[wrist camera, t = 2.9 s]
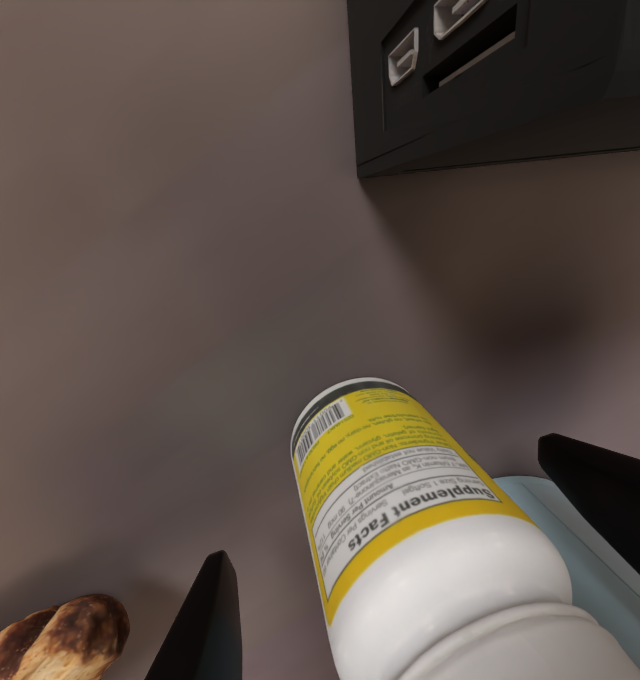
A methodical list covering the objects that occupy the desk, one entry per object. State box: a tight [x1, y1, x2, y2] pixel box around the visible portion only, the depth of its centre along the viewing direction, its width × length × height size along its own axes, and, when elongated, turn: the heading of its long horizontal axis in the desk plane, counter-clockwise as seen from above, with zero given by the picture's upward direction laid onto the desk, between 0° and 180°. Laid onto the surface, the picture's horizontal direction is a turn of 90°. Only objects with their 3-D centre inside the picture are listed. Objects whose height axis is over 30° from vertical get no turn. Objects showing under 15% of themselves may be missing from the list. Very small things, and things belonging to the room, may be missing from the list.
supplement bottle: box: [290, 377, 640, 680], centre depth 8 cm, size 5×5×8 cm
